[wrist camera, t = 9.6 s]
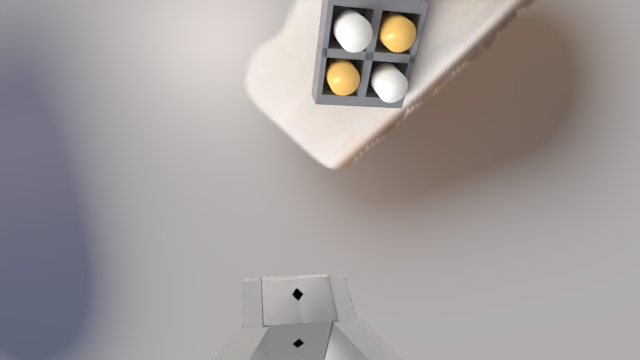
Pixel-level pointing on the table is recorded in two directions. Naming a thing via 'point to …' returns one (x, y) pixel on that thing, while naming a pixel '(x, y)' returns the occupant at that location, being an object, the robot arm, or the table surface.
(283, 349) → the robot arm
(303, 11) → the table surface
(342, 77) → the button
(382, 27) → the button
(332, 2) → the grey egg tray
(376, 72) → the button
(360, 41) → the button
